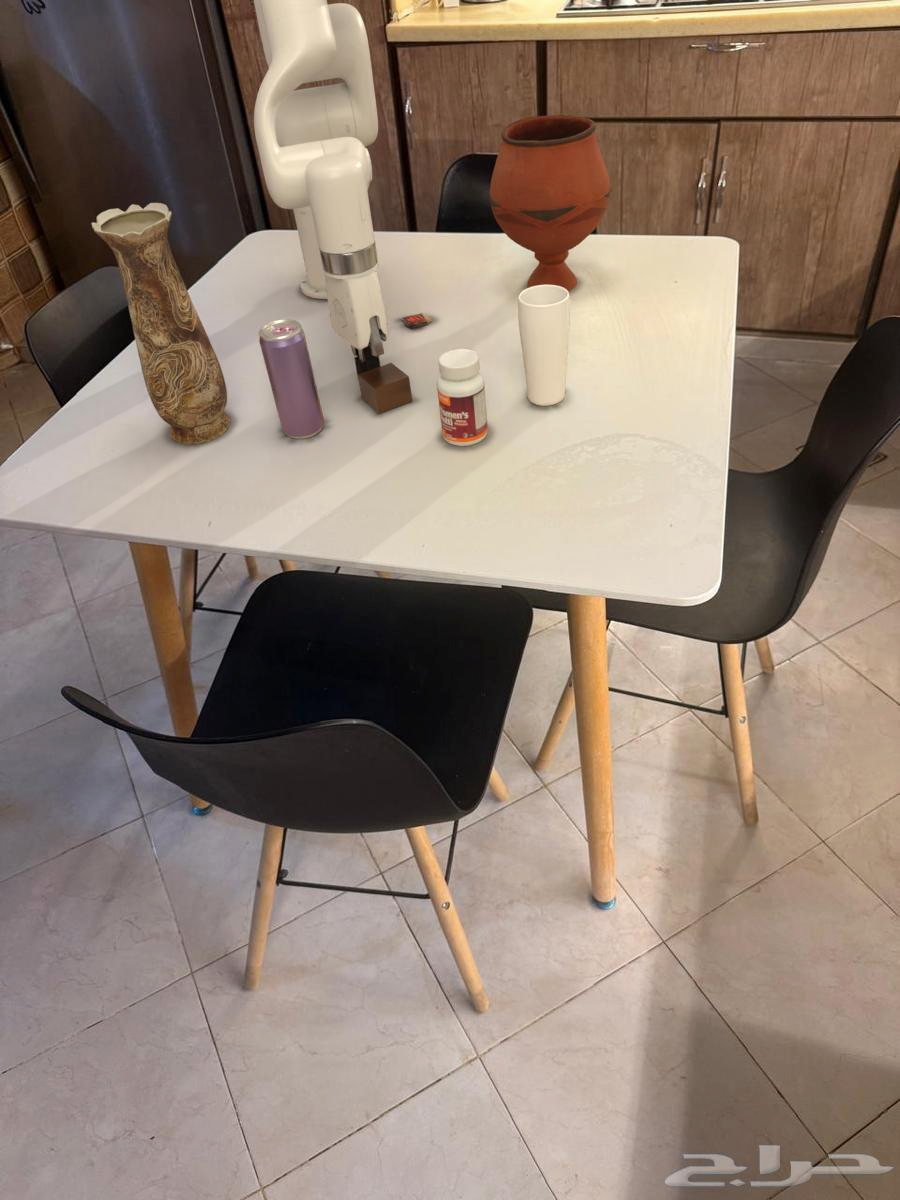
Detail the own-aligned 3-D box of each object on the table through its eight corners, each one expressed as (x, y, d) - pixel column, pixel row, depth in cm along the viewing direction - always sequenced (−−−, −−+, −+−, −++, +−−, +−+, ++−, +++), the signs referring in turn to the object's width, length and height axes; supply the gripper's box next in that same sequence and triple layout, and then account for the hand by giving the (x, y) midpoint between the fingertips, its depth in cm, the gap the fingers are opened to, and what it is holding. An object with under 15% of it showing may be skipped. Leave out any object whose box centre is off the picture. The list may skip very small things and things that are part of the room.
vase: (229, 403, 130) (166, 193, 110) (243, 436, 123) (178, 218, 103) (160, 421, 128) (83, 211, 108) (170, 456, 121) (89, 237, 100)
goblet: (495, 267, 158) (486, 115, 142) (602, 258, 157) (605, 103, 140) (495, 312, 144) (485, 150, 128) (612, 303, 143) (617, 137, 126)
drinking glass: (574, 387, 124) (574, 284, 114) (565, 411, 119) (565, 306, 109) (527, 384, 126) (523, 283, 116) (517, 409, 121) (512, 305, 111)
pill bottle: (435, 443, 116) (425, 366, 109) (454, 420, 120) (446, 344, 113) (477, 450, 114) (470, 372, 107) (495, 426, 118) (489, 349, 111)
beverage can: (317, 441, 120) (294, 339, 110) (277, 440, 121) (250, 339, 111) (330, 418, 124) (308, 318, 114) (291, 417, 125) (266, 318, 115)
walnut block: (362, 399, 127) (357, 374, 125) (394, 387, 129) (391, 362, 126) (378, 414, 124) (374, 389, 121) (412, 401, 125) (409, 376, 123)
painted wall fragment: (412, 330, 142) (412, 327, 142) (396, 320, 145) (396, 317, 145) (436, 321, 144) (436, 318, 143) (420, 312, 147) (420, 309, 147)
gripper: (301, 249, 120) (327, 370, 133) (348, 282, 110) (370, 409, 123) (350, 234, 123) (370, 354, 135) (399, 265, 113) (416, 392, 125)
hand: (370, 380), depth 129 cm, fingers closed
